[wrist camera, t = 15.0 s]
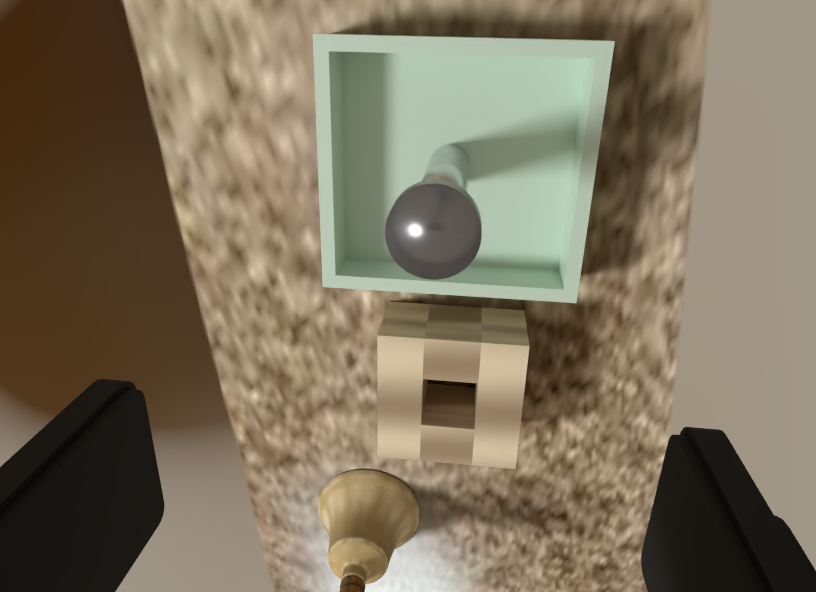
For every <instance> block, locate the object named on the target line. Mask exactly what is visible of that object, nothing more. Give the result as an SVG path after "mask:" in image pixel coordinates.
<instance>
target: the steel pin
mask: <svg viewBox="0 0 816 592" xmlns="http://www.w3.org/2000/svg"><path fill="white" fill-rule="evenodd" d="M469 173H470V159H469V156H468V154H467V153H466V152H465V150H464V149H462V148H461V147H459V146H457V145H453V144H447V145H443V146H441V147H439V148H438V149H436V150H435V151H434V153H433V154H432V156H431V158H430V161H429V163H428V166H427V168H426V171H425V173H424V176H423V178H422V181H421V182H418V183H416V184H414V185H412V186H410V187H409V188H407V189H406V190H405V191H403V192H402V193H401V195H400V196H399V197H398V198H397V200H396V201H395V203H394V205H393V207H392V209H391V211H390V213H389V215H388V217H387V220H386V225H385V240H386V245H387V247H388V250H389V252H390V254H391V256H392V257H393V259H394V260H395V262H396V263H397V264H398V265H399V266H400V267H401V268H402V269H404V270H405V271H407V272H408V273H410V274H412V275H414V276H417V277H420V278H424V279H430V280H438V279H445V278H449V277H452V276H454V275H456V274H458V273H460V272H461V271H463V270H464V269H465V268H467V267H468V266H469V265H470V264H471V262H472V261H473V260H474V258H475V257H476V255H477V253H478V251H479V248H480V244H481V238H482V221H481V215H480V211H479V209H478V206H477V204H476V203H475V201H474V199H473V198H472V197H471V196H470V195H469V194H468V184H469Z"/></svg>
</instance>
